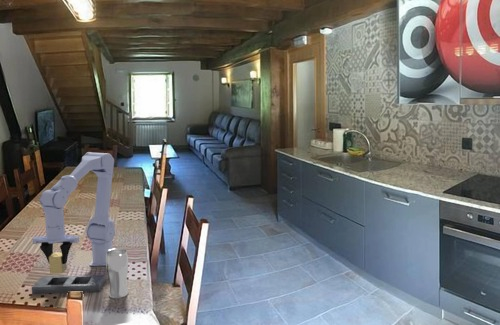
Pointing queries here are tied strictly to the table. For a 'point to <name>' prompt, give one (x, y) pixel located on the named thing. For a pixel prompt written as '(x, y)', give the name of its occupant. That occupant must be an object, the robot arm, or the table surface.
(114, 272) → the beer glass
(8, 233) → the table surface
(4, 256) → the table surface
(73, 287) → the rail
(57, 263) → the block
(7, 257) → the table surface
